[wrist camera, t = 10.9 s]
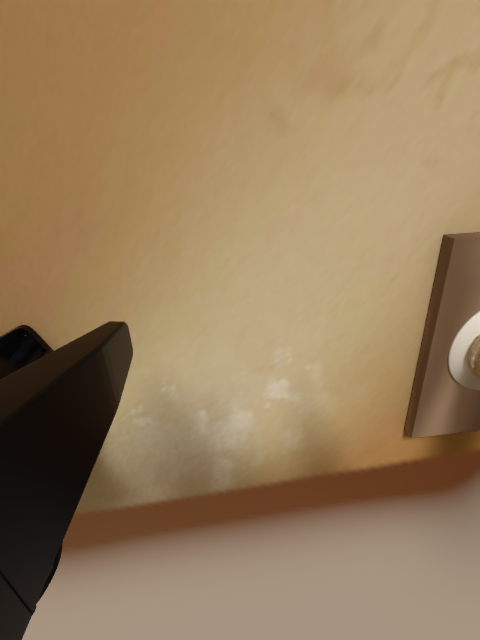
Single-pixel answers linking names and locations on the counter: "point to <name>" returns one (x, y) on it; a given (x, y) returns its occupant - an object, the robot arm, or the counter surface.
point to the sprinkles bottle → (474, 358)
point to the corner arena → (449, 345)
